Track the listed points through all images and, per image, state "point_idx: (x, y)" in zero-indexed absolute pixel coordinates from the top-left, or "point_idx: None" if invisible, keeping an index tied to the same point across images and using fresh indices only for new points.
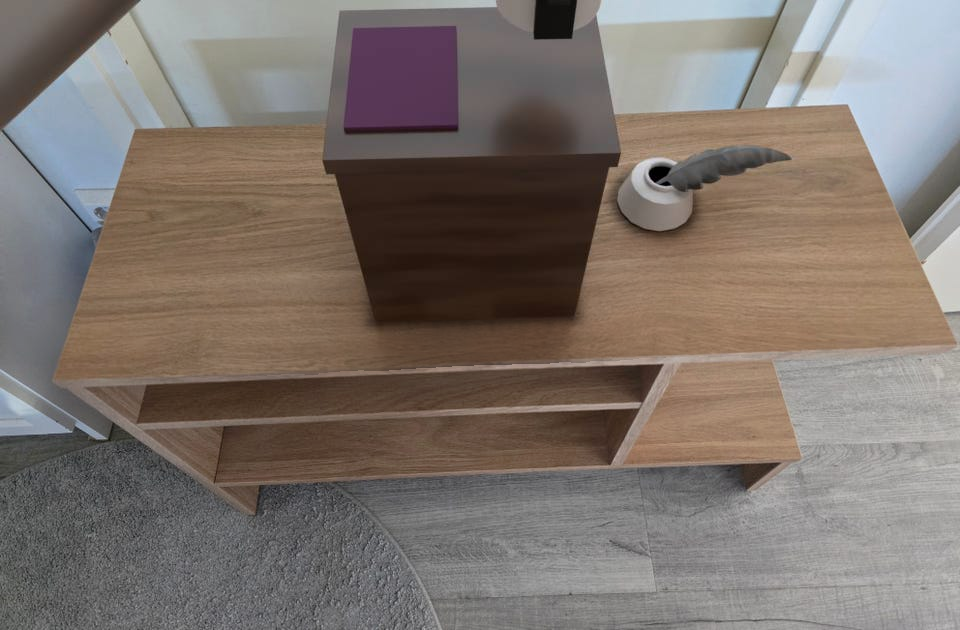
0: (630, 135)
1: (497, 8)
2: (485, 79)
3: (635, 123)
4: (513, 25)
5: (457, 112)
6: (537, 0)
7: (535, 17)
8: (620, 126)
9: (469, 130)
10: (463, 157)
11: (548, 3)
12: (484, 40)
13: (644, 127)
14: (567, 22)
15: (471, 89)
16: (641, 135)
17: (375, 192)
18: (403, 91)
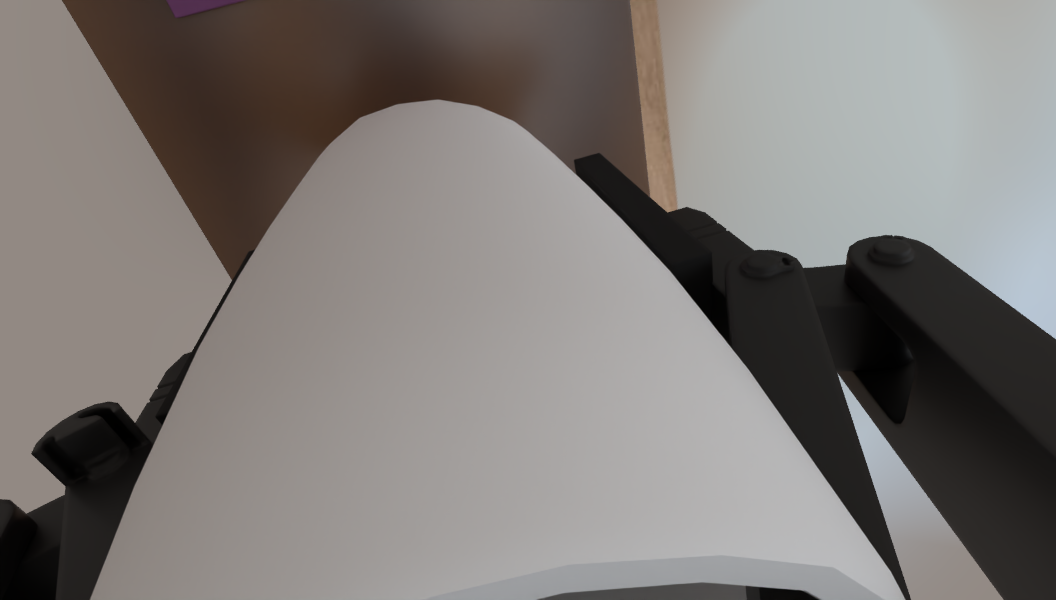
0: (651, 184)
1: (359, 118)
2: (373, 49)
3: (672, 187)
4: (570, 77)
5: (216, 6)
6: (215, 311)
7: (234, 280)
8: (666, 169)
9: (188, 48)
10: (94, 53)
11: (184, 356)
12: (506, 15)
13: (666, 200)
14: None
15: (327, 20)
16: (652, 198)
17: None
18: None
